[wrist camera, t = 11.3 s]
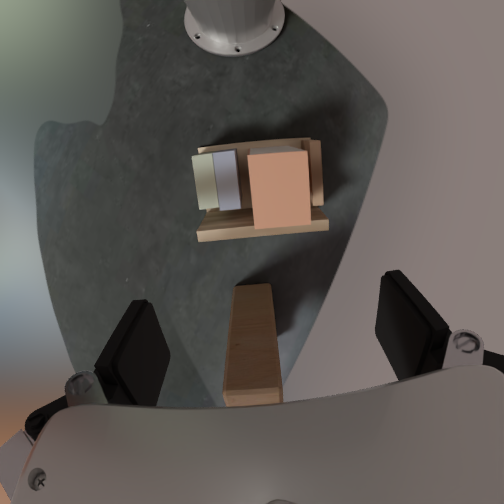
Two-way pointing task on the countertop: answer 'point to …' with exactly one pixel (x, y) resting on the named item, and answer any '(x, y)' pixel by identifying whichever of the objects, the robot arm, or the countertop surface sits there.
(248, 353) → the decorative block
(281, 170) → the tall pink rectangular prism
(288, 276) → the countertop surface
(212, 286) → the countertop surface
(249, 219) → the shelf
